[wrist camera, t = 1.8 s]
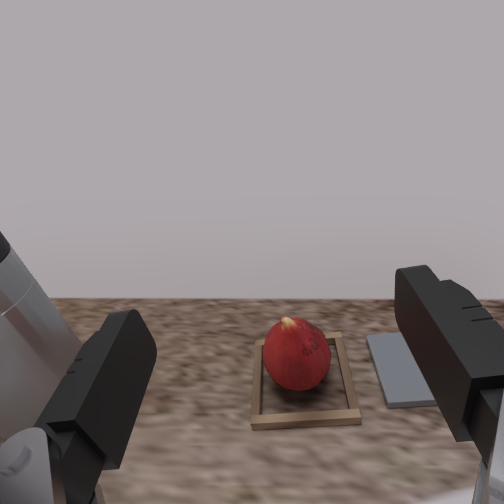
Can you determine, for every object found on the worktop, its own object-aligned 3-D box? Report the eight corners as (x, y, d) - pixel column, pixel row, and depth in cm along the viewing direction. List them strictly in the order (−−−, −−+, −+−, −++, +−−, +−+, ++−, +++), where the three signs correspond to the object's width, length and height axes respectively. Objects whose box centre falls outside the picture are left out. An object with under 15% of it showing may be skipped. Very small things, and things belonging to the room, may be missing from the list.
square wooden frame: (253, 430, 26) (250, 423, 26) (257, 346, 34) (255, 340, 33) (361, 424, 25) (360, 417, 24) (341, 338, 32) (340, 331, 32)
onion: (323, 348, 32) (315, 288, 28) (342, 401, 27) (336, 337, 23) (267, 361, 32) (250, 302, 28) (275, 415, 27) (257, 354, 23)
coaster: (387, 408, 26) (388, 402, 25) (366, 341, 31) (366, 335, 31) (482, 402, 24) (483, 396, 24) (441, 333, 30) (442, 327, 30)
